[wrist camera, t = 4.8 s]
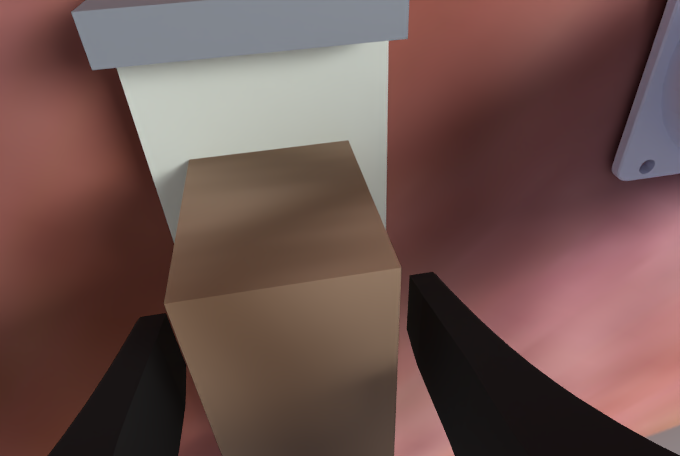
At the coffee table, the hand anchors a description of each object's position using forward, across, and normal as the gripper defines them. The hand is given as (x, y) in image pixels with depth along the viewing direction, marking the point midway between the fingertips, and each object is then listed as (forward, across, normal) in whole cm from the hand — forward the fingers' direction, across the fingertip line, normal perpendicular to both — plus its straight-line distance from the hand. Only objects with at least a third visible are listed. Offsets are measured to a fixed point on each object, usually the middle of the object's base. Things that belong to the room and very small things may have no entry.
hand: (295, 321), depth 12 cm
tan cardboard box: (+2, 0, 0) cm, 2 cm away
